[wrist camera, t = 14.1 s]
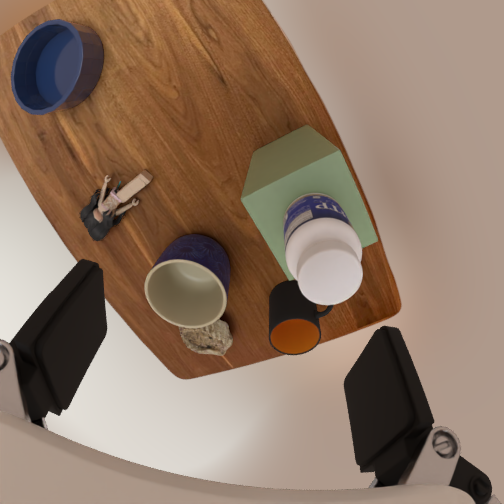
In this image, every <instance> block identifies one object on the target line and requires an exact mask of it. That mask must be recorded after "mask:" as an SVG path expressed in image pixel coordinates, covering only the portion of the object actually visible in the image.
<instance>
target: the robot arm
mask: <svg viewBox="0 0 504 504" xmlns="http://www.w3.org/2000/svg"><path fill="white" fill-rule="evenodd" d="M106 333H107V321H106V310H105V297H104V282H103V270H102V269H101V268H99V265H98V263H96V262H92V261H89V260H85V259H81V260H80V261H79V262H78V263H77V264H76V266H74V267H73V269H72V270H71V271H70V272H69V273H68V274H67V275H66V276H65V277H64V279H63V280H62V281H61V282H60V283H59V284H58V285H57V287H56V288H55V289H54V290H53V291H52V292H51V293H49V294H48V296H47V297H46V298H45V299H44V300H43V302H42V303H41V304H40V305H39V306H38V308H37V309H36V310H35V311H34V313H33V314H32V315H31V316H30V317H29V319H28V320H27V321H26V322H25V324H24V325H23V326H22V328H21V329H20V330H19V332H18V333H17V334H16V336H15V337H14V338H13V339H12V341H11V342H10V343H8V342H6V341H4V340H1V339H0V504H501V503H500V501H499V500H498V499H497V498H496V496H495V495H492V496H491V493H492V486H491V482H490V480H489V478H488V476H487V475H486V474H484V473H483V472H482V471H480V470H479V469H478V468H476V467H475V466H473V465H472V464H471V463H469V462H468V461H467V460H465V459H464V458H463V457H461V456H460V451H461V446H460V441H459V439H458V437H457V435H456V434H455V433H454V432H453V431H452V430H450V429H449V428H447V427H442V426H439V427H435V428H434V429H433V427H432V424H433V423H434V419H433V416H432V413H431V410H430V407H429V404H428V401H427V398H426V396H425V393H424V391H423V388H422V385H421V382H420V380H419V377H418V374H417V372H416V369H415V367H414V364H413V361H412V359H411V356H410V354H409V351H408V349H407V347H406V344H405V342H404V340H403V337H402V335H401V332H400V330H399V329H398V328H395V327H388V326H382V327H381V328H380V329H377V330H376V331H375V332H374V334H373V336H372V337H371V339H370V340H369V342H368V344H367V345H366V347H365V349H364V350H363V352H362V353H361V355H360V356H359V358H358V359H357V361H356V362H355V364H354V366H353V367H352V368H351V370H350V372H349V373H348V374H347V376H346V378H345V381H344V390H345V395H346V401H347V407H348V413H349V419H350V425H351V432H352V438H353V446H354V453H355V460H356V463H357V465H360V470H361V473H363V472H374V471H375V476H376V477H375V479H374V480H373V482H372V483H371V485H370V486H369V488H364V489H346V490H290V489H273V488H260V487H251V486H241V485H234V484H227V483H220V482H214V481H208V480H203V479H197V478H192V477H188V476H183V475H178V474H174V473H170V472H166V471H162V470H158V469H154V468H150V467H147V466H143V465H140V464H136V463H132V462H130V461H126V460H123V459H120V458H117V457H114V456H111V455H109V454H106V453H103V452H100V451H97V450H95V449H92V448H89V447H87V446H84V445H82V444H79V443H76V442H74V441H72V440H69V439H67V438H65V437H62V436H60V435H58V434H55V433H53V432H51V431H49V430H48V428H47V425H46V421H45V417H46V415H47V413H48V411H50V412H52V413H54V414H56V415H58V416H60V414H61V412H62V410H63V409H64V410H66V409H67V408H68V407H69V405H70V403H71V401H72V399H73V397H74V395H75V393H76V391H77V389H78V387H79V385H80V383H81V381H82V379H83V377H84V375H85V373H86V371H87V369H88V367H89V366H90V363H91V362H92V360H93V358H94V356H95V354H96V352H97V351H98V349H99V347H100V345H101V343H102V341H103V340H104V338H105V336H106Z"/></svg>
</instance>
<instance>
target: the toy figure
mask: <svg viewBox="0 0 504 504" xmlns="http://www.w3.org/2000/svg"><path fill="white" fill-rule="evenodd" d="M108 177H109V175H107V176H106V177H105V179H104V180H105V183H104V185H103V187H102V190H101V189H97V190H96V192H95V193H94V192H93V193H94V195H93V196H91V197H92V198H91V202H90V204H89V205H87V206H86V207H84V208H83V209H82V212H81V220H82V222H84V225H85V227H86V228H88V232H89V234H90V236H91V237H92V238H93V239H94V240H96V241H99V240H100V241H101V239H103V238H104V237H105V236H106V235H107V233H108V231H109V230H110V228H111V227H112V226H113V227H114V225H116V226H117V224H119V223H120V221H121V219H122V217H123V216H124V215H125V213H126V210H127V209H129V208H131V207H132V205H134V206H136V205H137V204H138V203H139V200H137V201H136V202H135V200H136V199H133V200H132V203H130V204H128V205H126V206H124V207H122V208H119V209H117V210H115V209H116V208H117V206H118V205H119V203H121V202H122V203H124V202H126V201H127V200H128V199H129V198H131V197H132V196H133V195H134V194H135V193H137V192H138V191H139V190H141V189H142V188H143V187H145V186H146V185H147V184H148V183H149V182H150V181H151V180H152V178H153V176H152V175H151V174H150V173H148V172H147V171H146V170H145V169H144V170H143V171H142V173H140V174H139V175H138V176H136V177H135V178H134V179H133V180H131V181H130V182H129V183H128V184H126V185H125V186H124V187H123V188H122V189H121V190H118V188H119V185H120V183H121V181H120V183H119V184H118V186H117V188H115V187H114V188H113V189H112V190H111V191H110V193H109V195H106V194H108V192H109V189H110V188H108V187H107V183H108V182H110V180H111V178H109V179H108ZM106 188H107V189H106ZM98 190H101V193H97V192H100V191H98ZM96 193H97V194H96ZM95 194H96V195H95ZM98 195H100V196H99V198H98V199H97V196H98ZM79 214H80V213H79ZM119 214H120V215H119ZM117 215H119V217H118V218H117V220H116V219H115V220H113V219H114V217H116V216H117ZM122 215H123V216H122ZM110 217H112V218H110ZM109 232H110V231H109ZM105 238H106V237H105ZM105 238H104V239H105ZM94 240H93V241H94Z"/></svg>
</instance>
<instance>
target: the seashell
mask: <svg viewBox="0 0 504 504" xmlns="http://www.w3.org/2000/svg"><path fill="white" fill-rule="evenodd" d="M179 330H180V336H181V337H182V340H183V342H184V343H185V344H186V347H188V348H190V349H191V350H192V351H194V352H197V353H200V354H201V353H203V354H215V355H221V356H223V355H224V354H225V352H226V350H227V349H228V348H229V347H230V346H231V345H232V343H233V338H232V334H231V333H230V332H229V326H228V324H227V323H226V322H223V321H221V320H220V319H218V320H217V321H216V322H214V323H212V324H210V325H208V326H205V327H201V328H185V327H179Z"/></svg>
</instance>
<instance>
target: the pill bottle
mask: <svg viewBox="0 0 504 504" xmlns="http://www.w3.org/2000/svg"><path fill="white" fill-rule="evenodd" d="M283 230H284V243H285V257H286V263H287V266H288V269H289V271H290V273H291V274H292V275H293V277H294V278H295V279H296V280H297V281H298V285H299V288H300V290H301V292H302V294H303V295H304V296H305V297H306V298H307V299H308V300H310V301H312V302H314V303H317V304H321V305H333V304H338V303H341V302H343V301H345V300H347V299H348V298H350V297H351V296H352V295H353V294H354V293H355V292H356V291H357V290H358V288H359V286H360V284H361V281H362V276H363V272H362V266H361V264H360V262H361V258H362V247H361V243H360V240H359V238H358V235H357V233H356V232H355V230H354V228H353V226H352V224H351V222H350V221H349V219H348V217H347V216H346V214H345V212H344V211H343V209H342V207H341V206H340V204H339V203H338V202H337V201H336V200H335V199H333V198H332V197H330V196H328V195H325V194H322V193H309V194H305V195H302V196H300V197H298V198H297V199H295V200H294V201H293V202H292V203H291V204H290V205H289V207H288V208H287V210H286V212H285V215H284V219H283Z"/></svg>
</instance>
